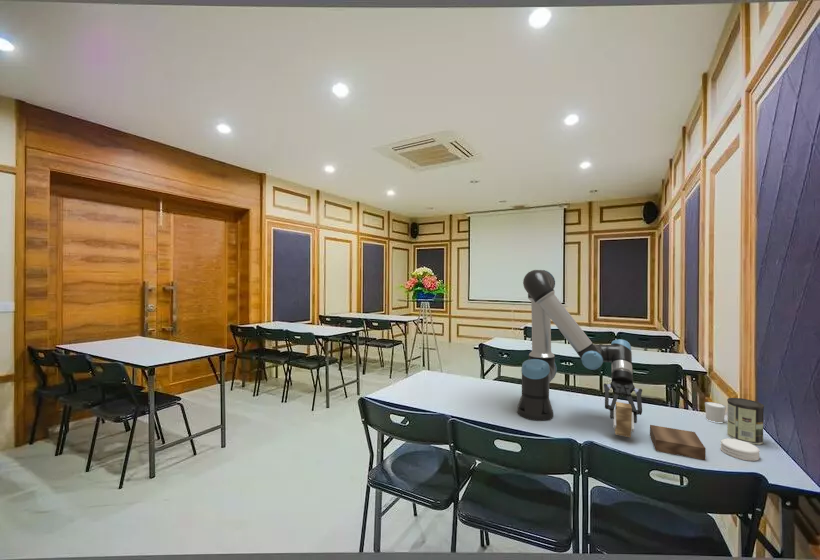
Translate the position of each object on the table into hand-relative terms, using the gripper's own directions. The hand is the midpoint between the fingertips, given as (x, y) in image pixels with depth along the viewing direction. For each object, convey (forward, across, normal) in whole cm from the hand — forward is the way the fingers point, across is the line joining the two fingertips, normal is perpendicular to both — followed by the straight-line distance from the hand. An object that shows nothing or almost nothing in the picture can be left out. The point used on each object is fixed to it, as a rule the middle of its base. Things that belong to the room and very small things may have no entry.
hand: (623, 428), depth 134 cm
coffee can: (-14, -42, -21) cm, 49 cm away
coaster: (-3, -36, -10) cm, 37 cm away
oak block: (0, 0, -5) cm, 5 cm away
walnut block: (0, -17, -7) cm, 18 cm away
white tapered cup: (-25, -37, -32) cm, 55 cm away
